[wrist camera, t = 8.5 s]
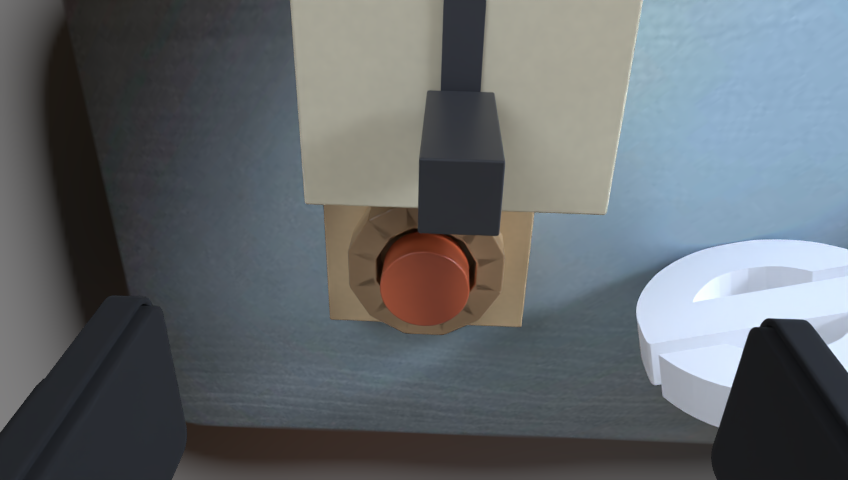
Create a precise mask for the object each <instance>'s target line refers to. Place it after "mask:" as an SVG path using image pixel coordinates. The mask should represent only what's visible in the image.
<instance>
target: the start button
mask: <svg viewBox="0 0 848 480" xmlns="http://www.w3.org/2000/svg"><path fill="white" fill-rule="evenodd" d="M469 291H470V290H469V264H468V259H467V256H466V254H465V252H464V251H463V249H462V248H461V247H460V245H459V244H458V243H457V242H455V241H454V240H453V239H451V238H450V237H448V236H446V235H444V234H427V233H419V232H413V233H410V234H407V235H405V236H403V237H401V238H400V239H398V240H397V241H396V242H395V243H393V244H392V246H391V247H390V248H389V250H388V251H387V253H386V256H385V259H384V264H383V270H382V275H381V281H380V293H381V297H382V300H383V302H384V304H385V305H386V307H387V308H388V310H389V311H390V312H391V313H392V314H393V315H395V316H396V317H397V318H399V319H401V320H402V321H405V322H407V323H410V324H413V325H418V326H433V325H438V324H442V323H445V322H447V321H449V320H451V319H452V318H454V317H455V316H456V315H458V314H459V313H460V312H461V310H462V309H463V308H464V306H465V305H466V303H467V300H468V297H469Z"/></svg>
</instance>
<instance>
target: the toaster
mask: <svg viewBox="0 0 848 480" xmlns="http://www.w3.org/2000/svg"><path fill="white" fill-rule="evenodd" d="M642 3H643V0H290V6H291V20H292V33H293V47H294V61H295V74H296V88H297V102H298V116H299V129H300V143H301V157H302V170H303V184H304V198H305V203H306V204H318V205H346V206H373V207H401V208H418V187H419V155H420V147H421V138H422V130H423V121H424V113H425V104H426V96H427V91H428V90H436V91H467V92H493V93H494V94H495V100H496V106H497V112H498V119H499V125H500V131H501V138H502V144H503V150H504V157H505V175H504V186H503V198H502V210H501V211H511V212H539V213H566V214H594V215H605V214H606V213H607V208H608V202H609V196H610V190H611V184H612V178H613V172H614V167H615V161H616V155H617V149H618V143H619V137H620V132H621V126H622V120H623V114H624V108H625V102H626V96H627V91H628V85H629V79H630V73H631V67H632V61H633V55H634V50H635V44H636V38H637V32H638V26H639V20H640V14H641V9H642Z"/></svg>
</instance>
